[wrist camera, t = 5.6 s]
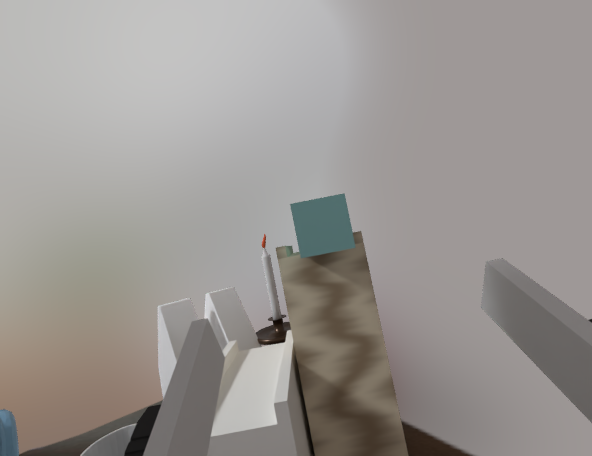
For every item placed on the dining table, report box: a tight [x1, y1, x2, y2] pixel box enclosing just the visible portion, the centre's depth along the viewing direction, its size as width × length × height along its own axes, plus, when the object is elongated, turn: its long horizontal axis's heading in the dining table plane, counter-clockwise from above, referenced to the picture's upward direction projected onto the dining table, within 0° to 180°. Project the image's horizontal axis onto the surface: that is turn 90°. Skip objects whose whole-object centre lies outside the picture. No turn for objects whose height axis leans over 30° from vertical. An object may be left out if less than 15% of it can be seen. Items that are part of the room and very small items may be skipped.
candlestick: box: [256, 234, 291, 345], centre depth 61 cm, size 11×11×35 cm
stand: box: [276, 231, 408, 456], centre depth 37 cm, size 9×18×31 cm, turn 179°
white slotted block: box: [158, 287, 262, 399], centre depth 58 cm, size 19×15×25 cm
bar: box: [291, 194, 356, 258], centre depth 36 cm, size 4×30×4 cm, turn 179°
